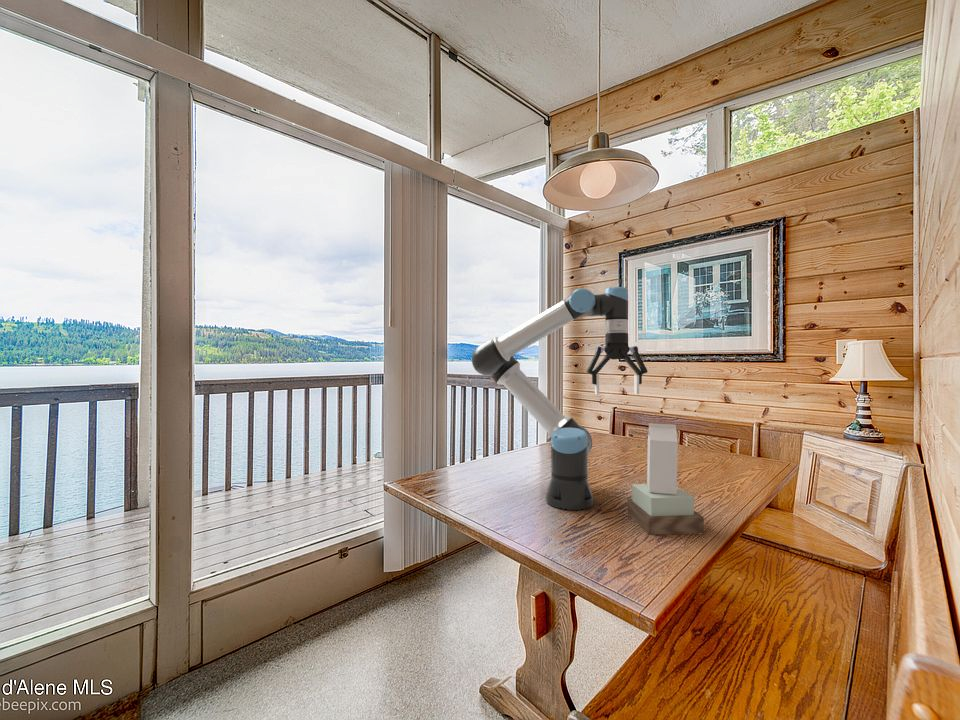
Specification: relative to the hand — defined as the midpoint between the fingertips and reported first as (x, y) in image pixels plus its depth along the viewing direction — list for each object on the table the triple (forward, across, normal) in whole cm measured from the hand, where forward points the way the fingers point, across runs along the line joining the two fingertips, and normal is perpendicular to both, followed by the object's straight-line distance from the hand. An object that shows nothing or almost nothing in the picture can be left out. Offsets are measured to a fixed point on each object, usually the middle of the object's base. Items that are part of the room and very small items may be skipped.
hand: (616, 394), depth 142 cm
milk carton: (+25, +5, -25) cm, 36 cm away
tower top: (+30, +5, -24) cm, 39 cm away
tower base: (+35, +6, -24) cm, 43 cm away
